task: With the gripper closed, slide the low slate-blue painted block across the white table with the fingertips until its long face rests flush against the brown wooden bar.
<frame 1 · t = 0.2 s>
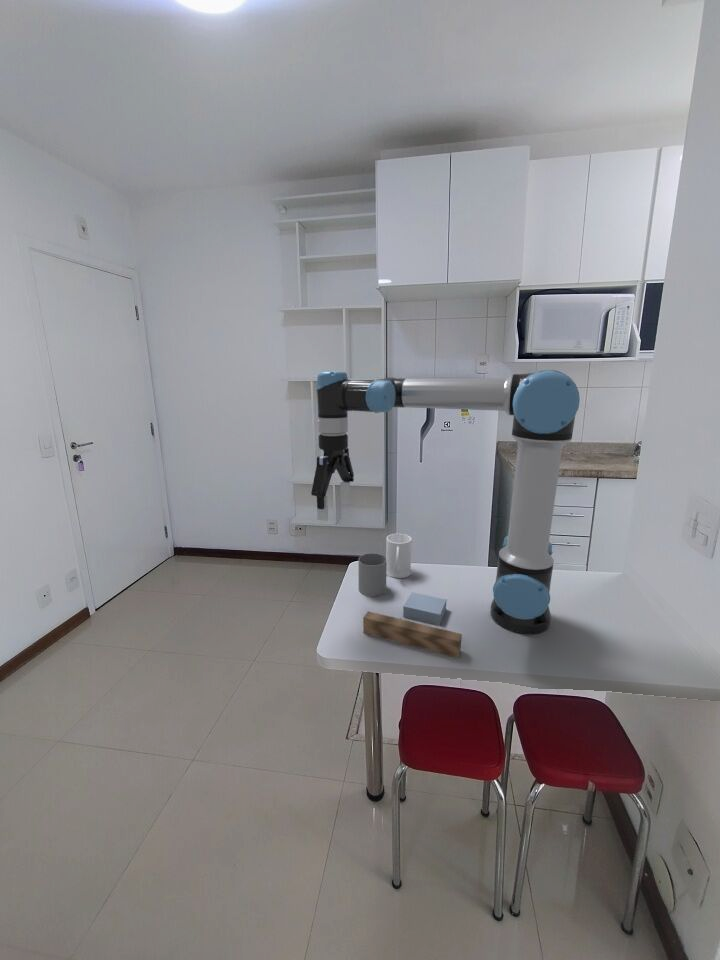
hand: (334, 511, 114), 28 cm above the table, fingers open, 13 cm apart
cup: (372, 589, 129), on the table
brown wooden bar: (410, 641, 105), on the table
mug: (397, 574, 138), on the table
block: (424, 614, 117), on the table
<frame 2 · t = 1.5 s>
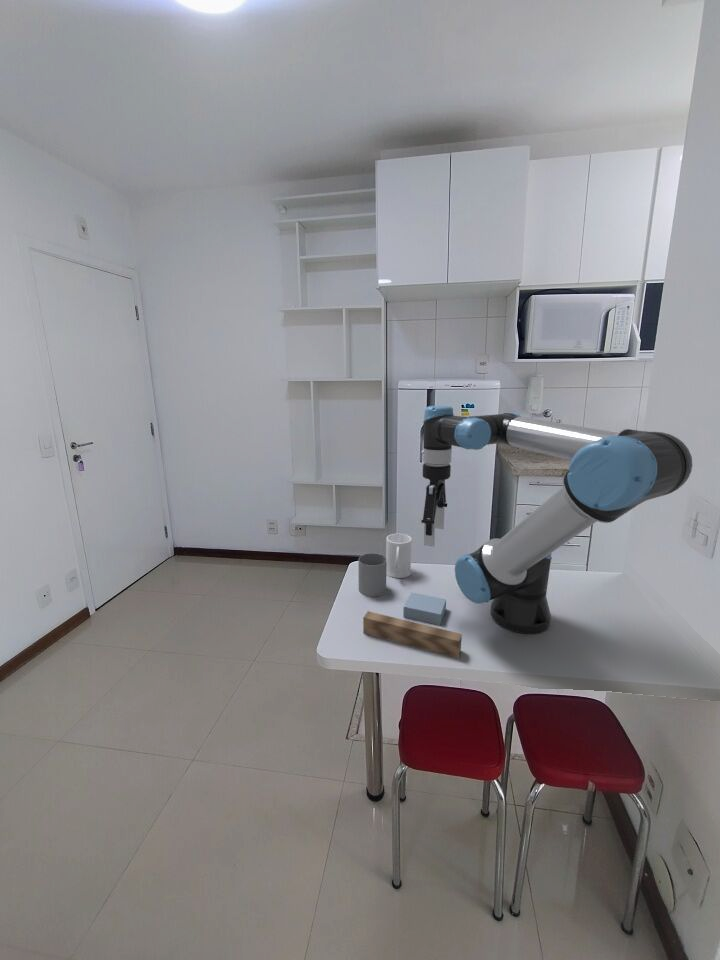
hand: (434, 536, 121), 19 cm above the table, fingers open, 13 cm apart
nothing on the table moved.
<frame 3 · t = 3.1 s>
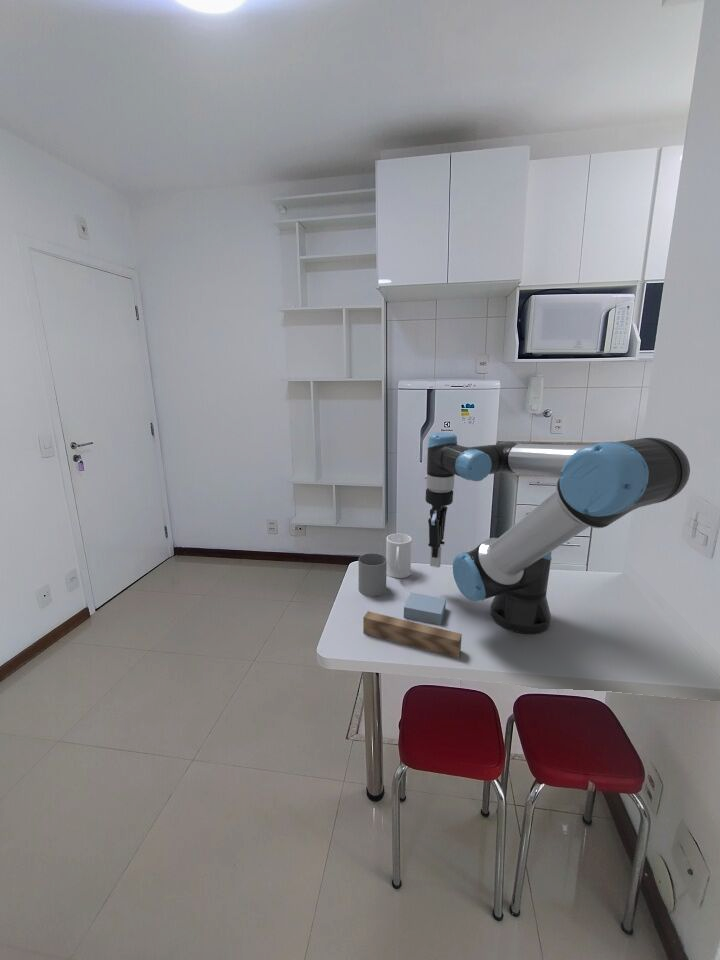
hand: (435, 565, 124), 9 cm above the table, fingers closed
nothing on the table moved.
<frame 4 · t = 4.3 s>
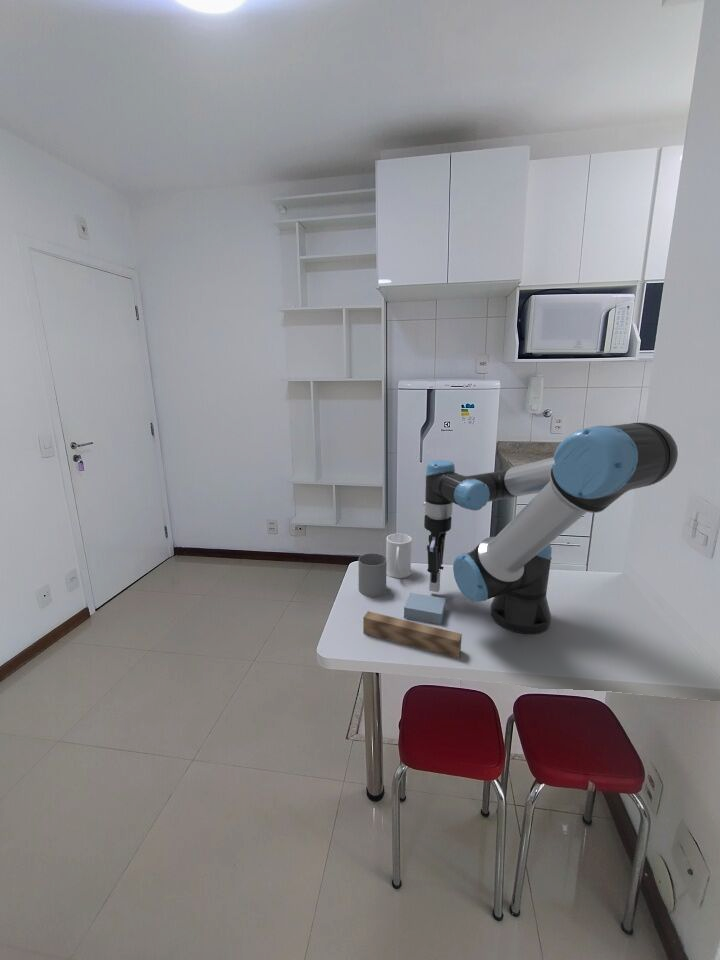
hand: (434, 590, 125), 1 cm above the table, fingers closed
nothing on the table moved.
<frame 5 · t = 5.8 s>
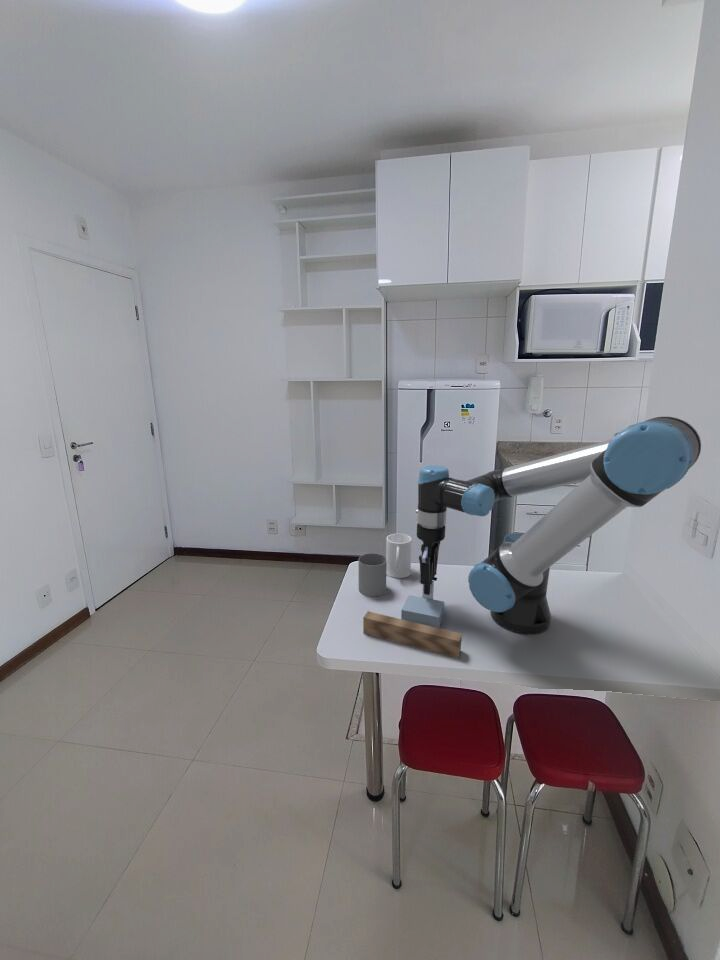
hand: (427, 602, 119), 1 cm above the table, fingers closed
block: (422, 617, 115), on the table, touching gripper
everything else where it was.
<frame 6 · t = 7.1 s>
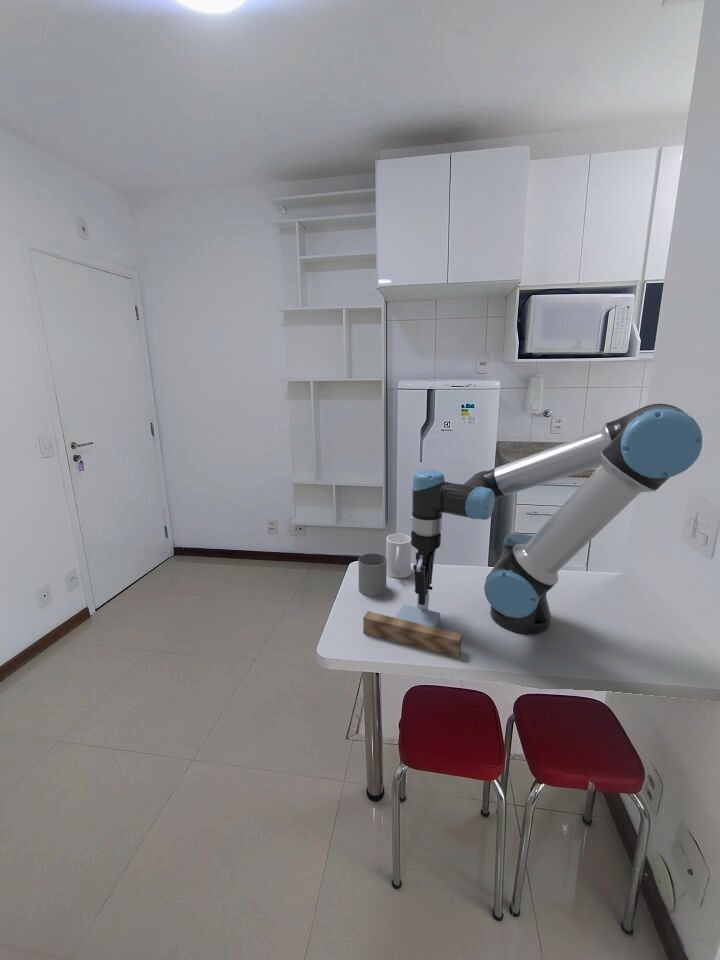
hand: (422, 612, 114), 1 cm above the table, fingers closed
block: (417, 628, 111), on the table, touching gripper
everything else where it was.
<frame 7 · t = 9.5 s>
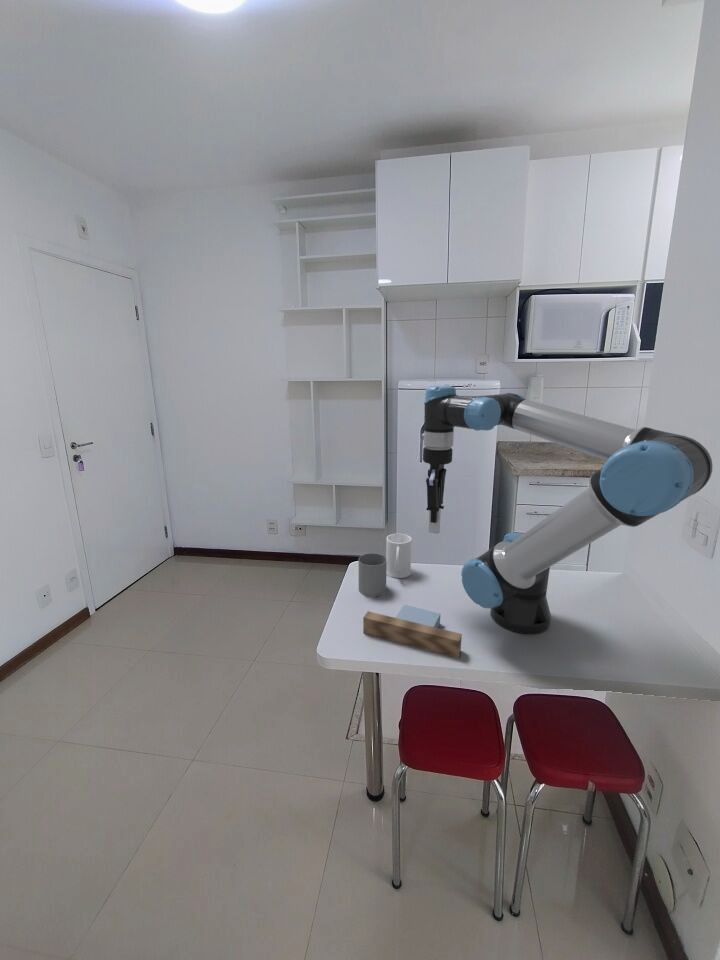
hand: (434, 532, 116), 22 cm above the table, fingers closed
block: (416, 628, 110), on the table
everything else where it was.
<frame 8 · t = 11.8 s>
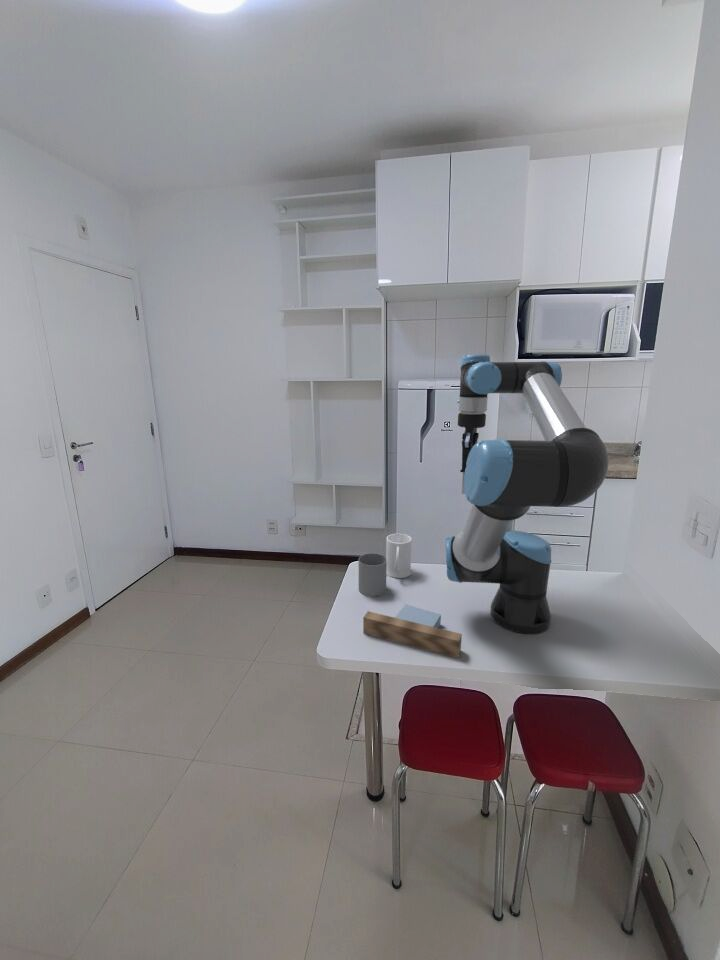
hand: (466, 493, 124), 29 cm above the table, fingers closed
nothing on the table moved.
at the end: block inside the target area on the table beside the brown wooden bar (0.7 cm from its centre), on the table; block tilted 0° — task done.
